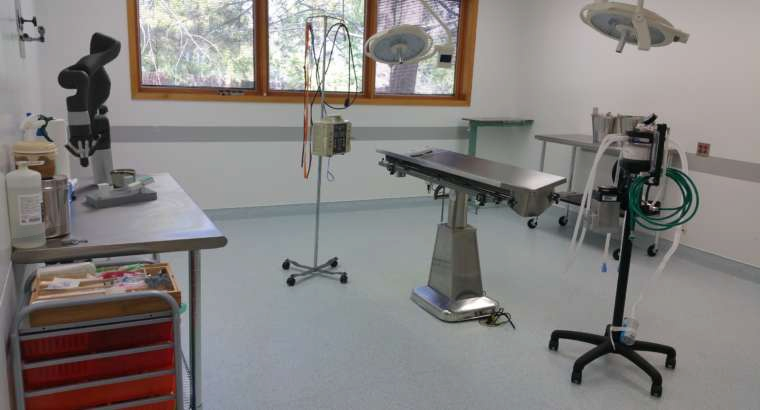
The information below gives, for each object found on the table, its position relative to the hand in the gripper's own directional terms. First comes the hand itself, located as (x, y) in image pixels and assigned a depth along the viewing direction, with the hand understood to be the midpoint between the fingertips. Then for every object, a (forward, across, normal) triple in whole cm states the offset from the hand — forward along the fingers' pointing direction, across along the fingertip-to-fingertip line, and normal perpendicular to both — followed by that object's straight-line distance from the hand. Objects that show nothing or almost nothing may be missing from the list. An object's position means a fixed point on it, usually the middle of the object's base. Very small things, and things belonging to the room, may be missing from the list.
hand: (84, 166), depth 215 cm
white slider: (+14, -6, 0) cm, 15 cm away
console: (+17, -14, -4) cm, 22 cm away
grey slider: (+14, -19, -9) cm, 25 cm away
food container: (+17, -22, -21) cm, 35 cm away
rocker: (+10, -21, 0) cm, 23 cm away
